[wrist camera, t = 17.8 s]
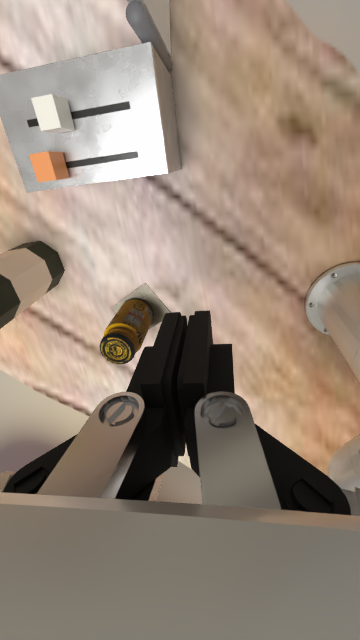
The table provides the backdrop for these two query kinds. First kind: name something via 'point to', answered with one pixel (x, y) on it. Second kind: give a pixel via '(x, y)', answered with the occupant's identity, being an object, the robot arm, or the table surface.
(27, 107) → the white slider console
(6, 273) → the wine bottle
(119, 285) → the table surface
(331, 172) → the table surface
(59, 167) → the fader
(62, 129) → the fader
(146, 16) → the door
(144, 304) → the condiment
